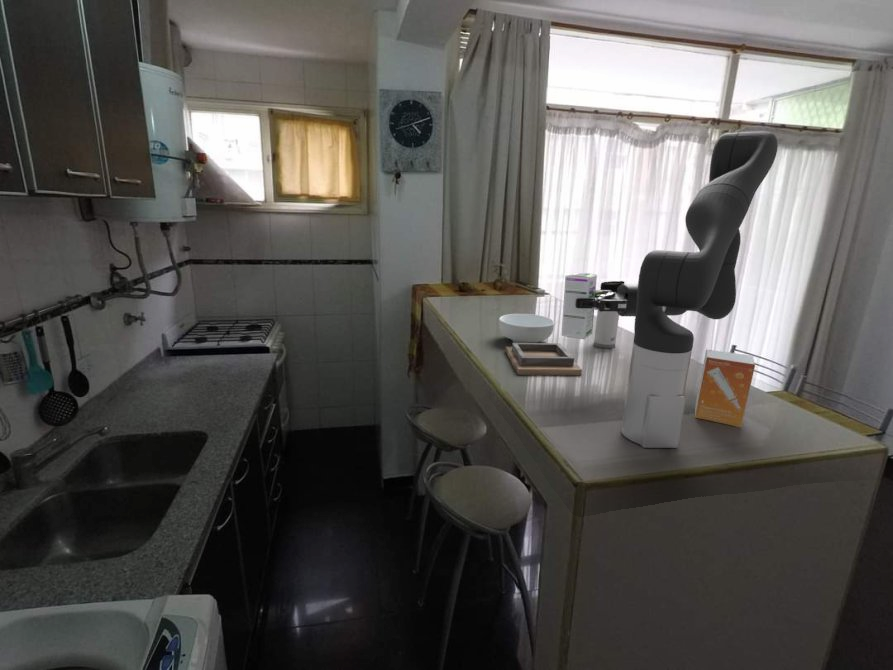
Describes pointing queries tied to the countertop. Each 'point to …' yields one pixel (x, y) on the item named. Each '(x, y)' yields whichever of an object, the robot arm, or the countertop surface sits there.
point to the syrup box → (578, 319)
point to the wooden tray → (542, 359)
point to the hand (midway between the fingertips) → (570, 299)
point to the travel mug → (607, 321)
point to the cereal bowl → (526, 327)
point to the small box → (724, 387)
